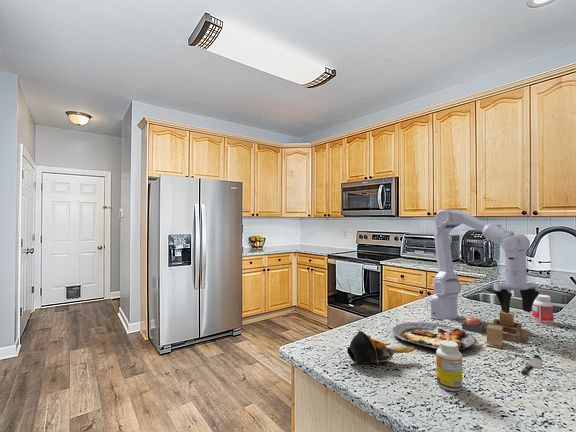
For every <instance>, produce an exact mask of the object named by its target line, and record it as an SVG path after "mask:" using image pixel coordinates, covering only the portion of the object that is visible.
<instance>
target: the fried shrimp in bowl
mask: <svg viewBox="0 0 576 432" xmlns="http://www.w3.org/2000/svg"><path fill="white" fill-rule="evenodd" d="M390 345H391V343H387V342H386V343H384V342H381V341H380V340H377V339H373V338H372V336H371V335H370V334H369V335H368V334H367V333H365V332H364V331H362V330H360V331H358V332H357V333H356V335H354V337H353V338H352V340H351V341H350V344H349V347H347V349H346V350H347V351H346V353H347V355H348V356H349V358H350V359H351V361H352V362H353V363H357V362H358V363H361V364H369V363H375V364H378V365H384V364H387V363H389V360H390V359H391V358H393V356H394V354H395V353H396V354H403V353H405V354H406V353H407V354H409V353H413V352H414V351H416V349H415V347H414V346H413V345H412V346H411V345H410V346H403V347H402V346H401V347H400V346H399V347H388V346H390Z"/></svg>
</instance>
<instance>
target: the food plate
mask: <svg viewBox="0 0 576 432" xmlns="http://www.w3.org/2000/svg"><path fill="white" fill-rule="evenodd" d="M437 328H438V329H437ZM436 329H437V333H433V332H434V331H435V330H436ZM446 330H449V331H450V332H447V331H446ZM391 331H392V334H393V335H395V337H397V338H398V339H401V340H402V341H406V342H410V343H411V344H414V345H419V346H423V347H425V348H427V347H428V348H432V349H436V350H437V349H438V348H440V341H442V340H448V341H453V342H455V343H457V344H458V351H459V350H465V349H469V348H471V347H472V346H474V345H475V344H477V339H476V338H475V337H474V336H473V334H471V333H469V332H466V330H463V329H461V328H460V329H459V328H458V327H454V326H451V325H444V324H440V323H433V322H427V321H415V322H413V321H412V322H411V321H410V322H409V321H408V322H401V323H399V324H396V325H395V326H394V327H392V328H391Z"/></svg>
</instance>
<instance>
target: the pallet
mask: <svg viewBox="0 0 576 432" xmlns="http://www.w3.org/2000/svg"><path fill="white" fill-rule="evenodd" d="M488 324H490V325H496V326H501V327H503V341H508V342H512V343H513V342H514V343H517V344H518V343H519V344H523V345H524V344H525V345H528V341H529V331H530V330H529V329H526V328H525V329H524V328H522V322H515V321H514V327H509V326H503V325H500V318H498V319H497V318H494V319H493V321H492V323H491V322H488V323H487V325H486V327H485V328H484V330H483V331H484V332H482V336H483V337H487V326H488Z"/></svg>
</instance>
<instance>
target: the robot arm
mask: <svg viewBox="0 0 576 432" xmlns="http://www.w3.org/2000/svg"><path fill="white" fill-rule="evenodd" d="M462 224H464V225H465V226H468V227H470V228H473V229H474V230H477V231H479V232H480V233H482V235H483V238H485V239H487V240H489V241H491V242H493V243H495V244H496V245H499V246H500V247H501V248H502V249H503V251H504V267H505V271H504V276H505V280H504V281H505V282H502V283H501V282H500V283H493V293H494V294H495V295H496V298H497V299H498V301H499V304H500V305H499V306H500V308H501V310H502V312H505V313H509V312H510V310H511V309H510V305H511V304H510V303H511V299H512V297H513V293H511V292H509V291H519V292H520V297H521V300H522V301H521V302H522V310H523V312H526V313H531V311H532V305H533V303H534V301H535V299H536V297H537V296H538V295H539V294H540V291H539V283H535V282H528V283H527V280H528V278H527V250H528V249H530V246H531V245H530V244H531V243H530V240H529V238H528V237H527V236H525V235H524V234H521V233H519V234H518V233H517V234H515V231H514V230H508V229H506V228H503V226H502V224H500V223H490V224H488V223H486V222H485V221H483V220H480V219H479V218H477V217H476V216H473V215H472V214H470V213H468V212H467V211H463V210H461V209H459V208H458V209H446V208H445V209H444V208H443V209H440V210H438V211H437V212H436V214H435V215H434V226H433V236H434V237H433V238H434V246H435V254H436V263H437V270H438V273H437V274H436V275H435V276H434V277H433V279H434V280H433V281H434V282H433V286H432V287H433V291H434V293H435V294H432V295H431V299H430V319H435V320H439V321H440V320H442V321H445V320H446V319H447V320H448V319H449V320H454V319H457V318H458V313H459V311H458V297H459V294H460V293H461V291H462V284H461V283H460V280H459V276H458V275H457V274H456V273H455V271H454V265H453V259H452V258H453V257H452V251H451V241H450V232H451V231H452V230H453V229H455V228H457V227H459V226H460V225H462Z"/></svg>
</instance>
